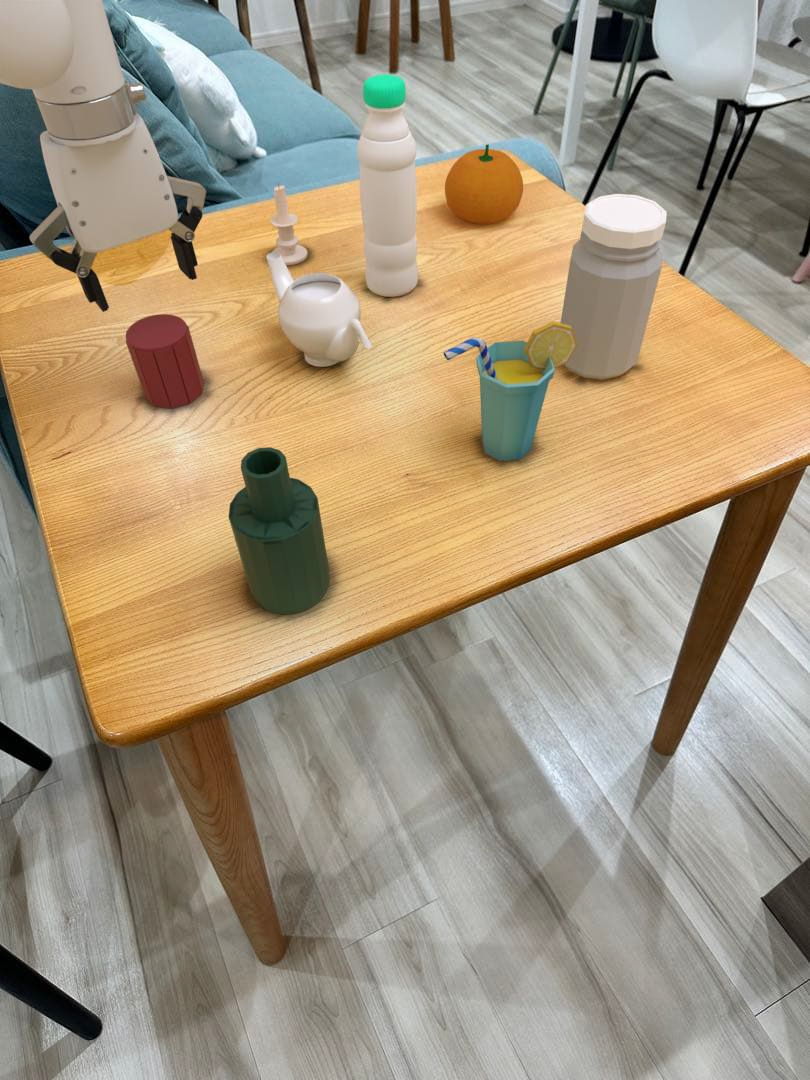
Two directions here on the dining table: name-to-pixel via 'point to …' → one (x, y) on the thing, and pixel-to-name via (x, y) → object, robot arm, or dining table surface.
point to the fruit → (484, 186)
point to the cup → (516, 385)
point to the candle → (286, 230)
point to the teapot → (317, 314)
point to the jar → (613, 283)
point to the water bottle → (388, 189)
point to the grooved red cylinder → (165, 360)
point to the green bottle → (279, 535)
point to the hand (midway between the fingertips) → (145, 289)
